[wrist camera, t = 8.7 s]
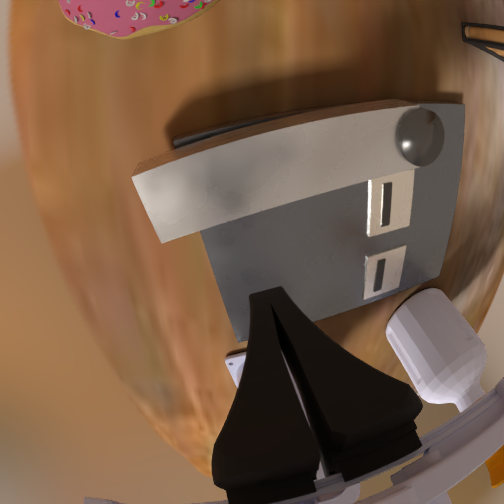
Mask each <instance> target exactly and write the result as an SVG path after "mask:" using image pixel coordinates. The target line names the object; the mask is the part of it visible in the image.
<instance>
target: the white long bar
mask: <svg viewBox="0 0 504 504" xmlns="http://www.w3.org/2000/svg"><path fill="white" fill-rule="evenodd" d="M444 138H445V133H444V127H443V124H442V121H441V119H440V118H439V116H438V115H437V114H436V113H434V112H433V111H430V110H427V109H424V108H421V107H419V105H417V104H414V103H410V102H406V101H403V100H399V99H387V100H379V101H371V102H364V103H357V104H350V105H344V106H338V107H332V108H327V109H321V110H316V111H311V112H306V113H301V114H297V115H292V116H288V117H283V118H279V119H275V120H271V121H267V122H263V123H259V124H255V125H251V126H248V127H244V128H240V129H237V130H233V131H230V132H226V133H223V134H220V135H216V136H213V137H210V138H207V139H204V140H201V141H198V142H195V143H192V144H189V145H186V146H183V147H180V148H177V149H174V150H171V151H169V152H166V153H163V154H160V155H158V156H155V157H153V158H150V159H147V160H145V161H142V162H140V163H139V164H138V166H137V168H136V169H135V171H134V173H133V175H132V180H133V182H134V184H135V187H136V189H137V191H138V194H139V196H140V198H141V200H142V202H143V205H144V207H145V209H146V211H147V213H148V216H149V218H150V220H151V222H152V224H153V226H154V228H155V231H156V233H157V235H158V237H159V239H160V241H161V243H164V242H167V241H170V240H173V239H176V238H179V237H182V236H185V235H188V234H191V233H194V232H197V231H200V230H203V229H207V228H210V227H213V226H216V225H219V224H222V223H225V222H228V221H231V220H235V219H238V218H241V217H244V216H247V215H251V214H254V213H257V212H260V211H264V210H267V209H270V208H274V207H277V206H280V205H284V204H287V203H290V202H294V201H297V200H301V199H304V198H307V197H311V196H314V195H318V194H321V193H325V192H328V191H332V190H335V189H339V188H343V187H346V186H350V185H354V184H357V183H361V182H365V181H368V180H372V179H376V178H380V177H383V176H387V175H391V174H395V173H399V172H403V171H407V170H411V169H415V168H419V167H424V166H427V165H429V164H431V163H433V162H434V161H435V160H436V159H437V157H438V156H439V154H440V153H441V150H442V148H443V144H444Z"/></svg>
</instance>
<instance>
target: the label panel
mask: <svg viewBox="0 0 504 504" xmlns="http://www.w3.org/2000/svg"><path fill="white" fill-rule="evenodd" d="M406 102H410V103H414V104H417V105H419V107H421V108H424V109H427V110H430V111H433V112H434V113H436V114H437V115H438V116H439V118H440V119H441V121H442V124H443V127H444V133H445V138H444V144H443V148H442V150H441V153H440V154H439V156H438V157H437V159H436V160H435V161H434V162H433V163H431V164H429V165H427V166H424V167H419V168H415V169H411V170H407V171H403V172H399V173H395V174H391V175H387V176H383V177H380V178H376V179H372V180H368V181H365V182H361V183H357V184H354V185H350V186H346V187H343V188H339V189H335V190H332V191H328V192H325V193H321V194H318V195H314V196H311V197H307V198H304V199H301V200H297V201H294V202H290V203H287V204H284V205H280V206H277V207H274V208H270V209H267V210H264V211H260V212H257V213H254V214H251V215H247V216H244V217H241V218H238V219H235V220H231V221H228V222H225V223H222V224H219V225H216V226H213V227H210V228H207V229H203V230H200V233H201V236H202V239H203V242H204V245H205V248H206V251H207V254H208V257H209V260H210V263H211V266H212V269H213V272H214V275H215V278H216V281H217V284H218V287H219V290H220V293H221V296H222V299H223V302H224V304H225V307H226V310H227V313H228V316H229V319H230V321H231V324H232V327H233V330H234V333H235V335H236V338H237V341H238V343H239V342H243V341H247V340H248V339H249V328H250V302H249V295H250V294H252V293H256V292H260V291H264V290H267V289H271V288H275V287H278V286H281V287H283V288H284V290H285V291H286V293H287V294H288V295H289V297H290V298H291V299H292V300H293V302H294V303H295V304H296V305H297V306H298V308H299V309H300V310H301V311H302V312H303V313H304V314H305V315H306V316H307V317H308V318H309V319H310V320H311V321H312V322H314V321H317V320H321V319H324V318H327V317H330V316H333V315H336V314H339V313H342V312H345V311H348V310H351V309H354V308H357V307H360V306H363V305H366V304H368V303H371V302H374V301H377V300H380V299H382V298H385V297H388V296H390V295H393V294H396V293H398V292H401V291H403V290H406V289H409V288H411V287H414V286H416V285H419V284H421V283H424V282H426V281H428V280H431V279H433V278H436V277H438V276H439V275H440V271H441V268H442V264H443V261H444V257H445V253H446V249H447V245H448V240H449V236H450V232H451V227H452V222H453V217H454V212H455V206H456V200H457V194H458V188H459V181H460V173H461V164H462V154H463V142H464V125H465V104H461V103H458V102H455V101H406ZM352 104H357V103H352ZM344 105H350V104H341V105H331V106H323V107H314V108H307V109H300V110H293V111H287V112H281V113H275V114H269V115H264V116H258V117H253V118H248V119H243V120H239V121H234V122H229V123H225V124H221V125H217V126H212V127H208V128H204V129H201V130H197V131H193V132H189V133H186V134H182V135H178V136H175V137H174V140H173V142H174V146H175V149H177V148H180V147H183V146H186V145H189V144H192V143H195V142H198V141H201V140H204V139H207V138H210V137H213V136H216V135H220V134H223V133H226V132H230V131H233V130H237V129H240V128H244V127H248V126H251V125H255V124H259V123H263V122H267V121H271V120H275V119H279V118H283V117H288V116H292V115H297V114H301V113H306V112H311V111H316V110H321V109H327V108H332V107H338V106H344Z"/></svg>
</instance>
